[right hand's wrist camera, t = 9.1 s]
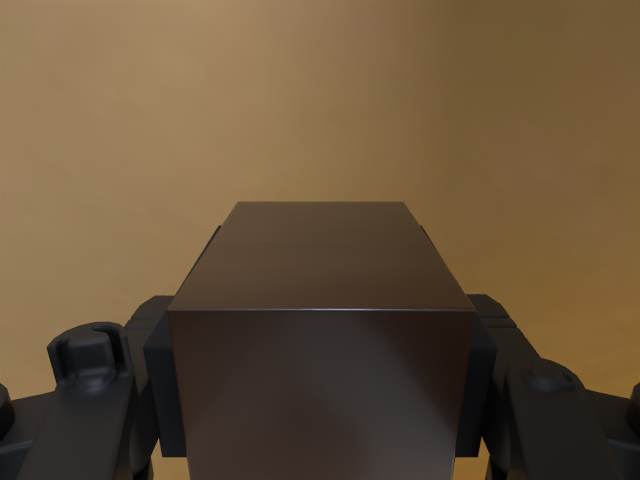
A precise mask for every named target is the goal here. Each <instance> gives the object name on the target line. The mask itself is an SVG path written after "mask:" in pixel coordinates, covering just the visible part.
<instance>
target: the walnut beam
mask: <svg viewBox="0 0 640 480" xmlns="http://www.w3.org/2000/svg"><path fill="white" fill-rule="evenodd" d="M475 314H476V309H475V307H474V306H473V304H472V303H471V301H470V300H469V298H468V297H467V295H466V294H465V292H464V291H463V289H462V288H461V286H460V285H459V283H458V282H457V280H456V279H455V278H454V276H453V275H452V273H451V272H450V270H449V269H448V267H447V266H446V264H445V263H444V261H443V260H442V258H441V257H440V255H439V254H438V252H437V251H436V249H435V248H434V246H433V245H432V243H431V242H430V240H429V239H428V237H427V236H426V234H425V233H424V231H423V230H422V228H421V227H420V225H419V224H418V222H417V221H416V219H415V218H414V216H413V215H412V213H411V212H410V211H409V209H408V208H407V206H406V205H405V203H404V202H237V204H236V205H235V207H234V208H233V210H232V211H231V213H230V214H229V216H228V217H227V219H226V220H225V222H224V223H223V225H222V226H221V228H220V229H219V231H218V233H217V234H216V236H215V237H214V239H213V240H212V242H211V243H210V245H209V246H208V248H207V249H206V251H205V252H204V254H203V255H202V257H201V258H200V260H199V261H198V263H197V264H196V266H195V267H194V269H193V270H192V272H191V273H190V275H189V276H188V278H187V279H186V281H185V282H184V284H183V286H182V287H181V289H180V290H179V292H178V293H177V295H176V296H175V298H174V299H173V301H172V302H171V304H170V305H169V307H168V308H167V315H168V322H169V329H170V337H171V344H172V351H173V359H174V366H175V373H176V380H177V388H178V395H179V402H180V410H181V417H182V424H183V432H184V439H185V446H186V454H187V461H188V468H189V476H190V480H452V476H453V469H454V462H455V455H456V448H457V440H458V433H459V426H460V419H461V412H462V405H463V398H464V391H465V384H466V377H467V370H468V363H469V356H470V349H471V342H472V335H473V328H474V321H475Z"/></svg>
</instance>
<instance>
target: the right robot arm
mask: <svg viewBox="0 0 640 480" xmlns="http://www.w3.org/2000/svg"><path fill="white" fill-rule="evenodd" d="M420 227H421V228H422V230H423V231H424V233H425V234H426V232H425V230H424V229H423V227H422V226H420ZM220 228H221V226H218V228H217V229H216V231H215V232H214V234H213V236H212V237H211V239H210V240H209V242H208V244H207V245H206V247H205V248H204V250H203V252H202V253H201V255H200V256H199V258H198V260H197V261H196V263H195V264H194V266H193V268H192V269H191V271H190V272H189V274H188V276H189V275H190V273H191V272H192V270H193V269H194V267H195V266H196V264H197V263H198V261H199V260H200V258H201V257H202V255H203V254H204V252H205V251H206V249H207V248H208V246H209V245H210V243H211V242H212V240H213V239H214V237H215V236H216V234H217V233H218V231H219V229H220ZM426 236H427V237H428V235H427V234H426ZM428 239H429V240H430V238H429V237H428ZM430 242H431V240H430ZM431 243H432V242H431ZM432 245H433V243H432ZM433 246H434V245H433ZM434 248H435V246H434ZM435 249H436V248H435ZM436 251H437V250H436ZM437 252H438V251H437ZM438 254H439V253H438ZM439 255H440V254H439ZM440 257H441V256H440ZM442 260H443V259H442ZM444 263H445V262H444ZM188 276H187V277H186V279H187V278H188ZM186 279H185V280H184V282H185V281H186ZM184 282H183V284H184ZM183 284H182V285H181V287H182V286H183ZM181 287H180V288H179V290H180V289H181ZM179 290H178V292H179ZM178 292H177V293H178ZM177 293H176V295H177ZM176 295H175V296H176ZM466 295H467V297H468V298H469V300H470V301H471V303H472V304H473V306H474V307H475V309H476V314H475V321H474V328H473V335H472V342H471V349H470V356H469V363H468V370H467V377H466V384H465V391H464V398H463V405H462V412H461V419H460V426H459V433H458V440H457V448H456V455H455V457H478V454H479V448H480V442H481V437H482V438H483V440H484V442H485V445H486V447H487V449H488V451H489V454H490V456H489V461H488V466H487V472H486V477H485V480H640V382H639V383H638V384H637V385H635V386H634V388H633V391H632V394H631V397H630V399H628V398H623V397H618V396H613V395H609V394H604V393H599V392H595V391H591V390H587V389H585V388H584V385H583V384H582V382H581V381H580V380H579V378H578V377H577V375H575V374H574V373H573V372H571V371H570V370H569V369H567V368H566V367H564V366H562V365H560V364H558V363H556V362H553V361H551V360H547V359H543V358H541V357H540V356H539V354H538V353H537V352H536V350H535V349H534V348H533V346H532V345H531V344H530V342H529V341H528V340H527V339H526V337H525V336H524V335H523V333H522V332H521V331H520V329H519V328H517V325H516V324H515V323H514V321H513V320H512V319H511V318H510V316H509V315H508V313H507V312H506V311H505V309H504V308H503V307H502V305H501V304H500V303H498V302H497V301H495V300H493V299H492V298H490V297H489V296H487V295H486V294H466ZM175 296H154V297H152V298H151V299H149V300H148V301H146V302H145V303H143V304H142V305H140V306H139V307H138V309H137V310H136V311H135V313H134V314H133V315H132V317H131V320H129V321H128V322H127V323H126V325H125V326H124V327H123V326H121V325H120V324H117V323H112V322H94V323H89V324H84V325H80V326H77V327H75V328H72V329H70V330H67V331H65V332H64V333H62V334H60V335H59V336H57V337H56V338H54V339H53V340H52V341H51V343H50V344H49V345H48V346H47V351H48V354H49V358H50V361H51V365H52V369H53V372H54V376H55V379H56V383H57V386H56V388H55V391H53V392H49V393H45V394H41V395H36V396H31V397H26V398H22V399H17V400H12V401H11V399H10V396H9V393H8V390H7V388H6V387H4V386H3V385H2V384H1V383H0V480H153V475H154V473H153V467H152V461H151V454H152V452H153V450H154V447H155V445H156V443H157V440H158V438H159V441H160V446H161V452H162V457H187V454H186V446H185V439H184V432H183V424H182V417H181V410H180V402H179V395H178V388H177V380H176V373H175V366H174V359H173V351H172V344H171V337H170V329H169V322H168V315H167V308H168V307H169V305H170V304H171V302H172V301H173V299H174V298H175Z"/></svg>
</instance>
